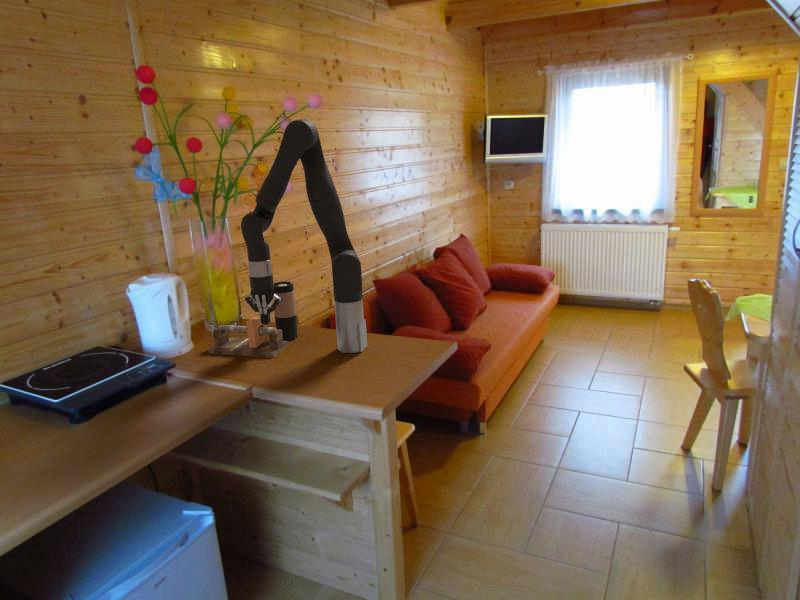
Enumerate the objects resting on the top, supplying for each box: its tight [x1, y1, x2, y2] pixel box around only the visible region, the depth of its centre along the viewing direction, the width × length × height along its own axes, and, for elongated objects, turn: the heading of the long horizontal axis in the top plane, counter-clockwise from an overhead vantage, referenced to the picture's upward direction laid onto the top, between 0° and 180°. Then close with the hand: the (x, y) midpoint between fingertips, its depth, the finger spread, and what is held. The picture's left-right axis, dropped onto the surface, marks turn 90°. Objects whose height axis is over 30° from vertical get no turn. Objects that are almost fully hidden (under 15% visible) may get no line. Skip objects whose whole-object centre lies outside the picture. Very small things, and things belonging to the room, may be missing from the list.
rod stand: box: [207, 324, 290, 359], centre depth 192 cm, size 24×12×8 cm, turn 75°
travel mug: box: [272, 281, 298, 342], centre depth 200 cm, size 8×8×20 cm
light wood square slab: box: [246, 313, 269, 348], centre depth 190 cm, size 2×9×9 cm, turn 165°
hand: (266, 324), depth 188 cm, fingers closed
